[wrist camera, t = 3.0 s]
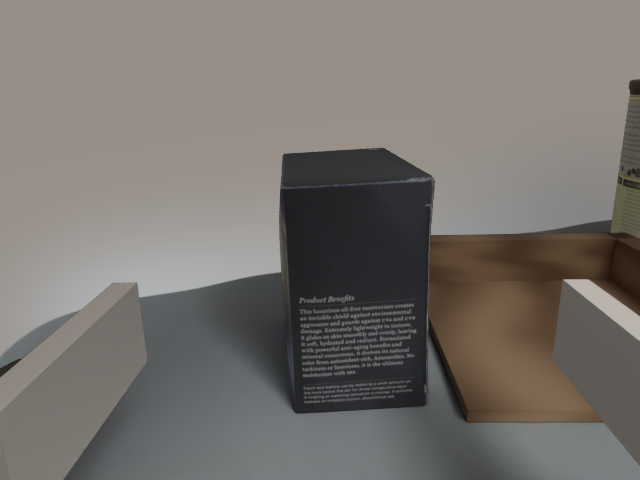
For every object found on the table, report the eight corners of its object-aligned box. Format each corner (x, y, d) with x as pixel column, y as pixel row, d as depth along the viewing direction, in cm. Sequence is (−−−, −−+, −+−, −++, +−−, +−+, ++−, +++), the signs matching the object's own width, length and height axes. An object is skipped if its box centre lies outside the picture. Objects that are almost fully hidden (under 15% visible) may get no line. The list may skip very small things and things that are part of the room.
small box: (286, 314, 31) (278, 149, 28) (386, 309, 32) (388, 146, 29) (285, 417, 21) (273, 180, 18) (432, 408, 22) (443, 173, 19)
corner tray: (618, 280, 35) (625, 232, 34) (834, 421, 20) (859, 343, 19) (410, 282, 36) (412, 235, 35) (466, 421, 21) (472, 345, 20)
